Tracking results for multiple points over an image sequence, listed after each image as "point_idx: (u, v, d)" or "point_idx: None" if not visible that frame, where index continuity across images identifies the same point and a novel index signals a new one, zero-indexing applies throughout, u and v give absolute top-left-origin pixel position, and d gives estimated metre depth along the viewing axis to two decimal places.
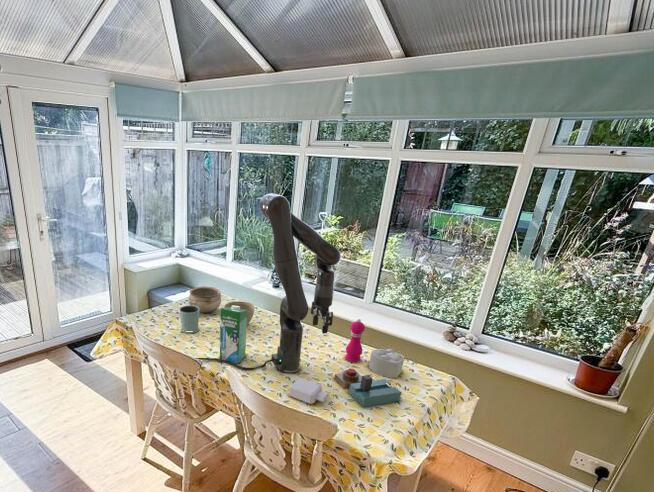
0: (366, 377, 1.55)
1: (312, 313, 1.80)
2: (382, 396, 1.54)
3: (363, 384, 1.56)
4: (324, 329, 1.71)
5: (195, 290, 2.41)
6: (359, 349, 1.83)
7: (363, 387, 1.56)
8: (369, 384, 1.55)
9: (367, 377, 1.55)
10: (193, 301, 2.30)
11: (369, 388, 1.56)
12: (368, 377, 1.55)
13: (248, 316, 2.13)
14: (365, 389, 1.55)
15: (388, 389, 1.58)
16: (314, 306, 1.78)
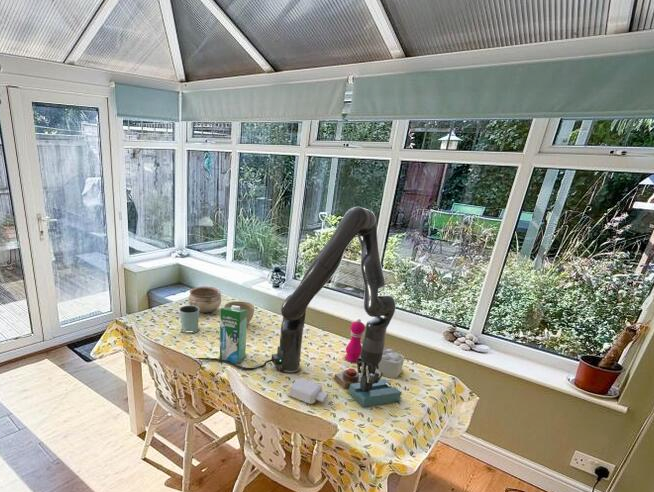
0: (366, 377, 1.55)
1: (360, 371, 1.58)
2: (382, 396, 1.54)
3: (363, 384, 1.56)
4: (368, 386, 1.54)
5: (195, 290, 2.41)
6: (359, 349, 1.83)
7: (363, 387, 1.56)
8: None
9: None
10: (193, 301, 2.30)
11: None
12: None
13: (248, 316, 2.13)
14: None
15: (388, 389, 1.58)
16: (360, 363, 1.58)
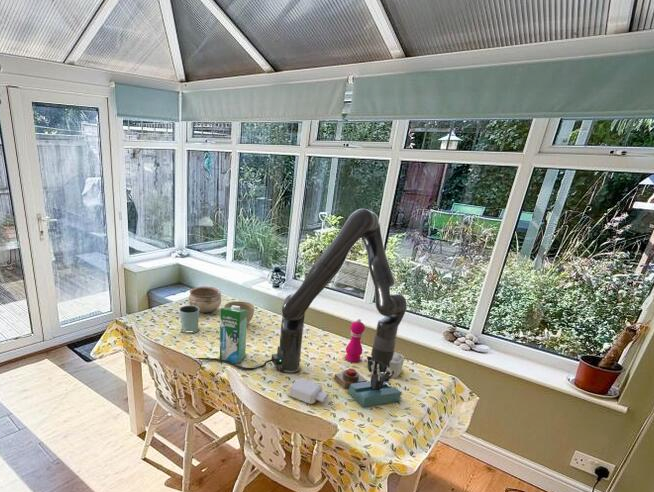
0: (377, 375, 1.56)
1: (370, 370, 1.59)
2: (382, 396, 1.54)
3: (374, 382, 1.57)
4: (379, 385, 1.55)
5: (195, 290, 2.41)
6: (359, 349, 1.83)
7: (374, 385, 1.57)
8: None
9: None
10: (193, 301, 2.30)
11: None
12: None
13: (248, 316, 2.13)
14: None
15: (388, 389, 1.58)
16: (371, 361, 1.59)
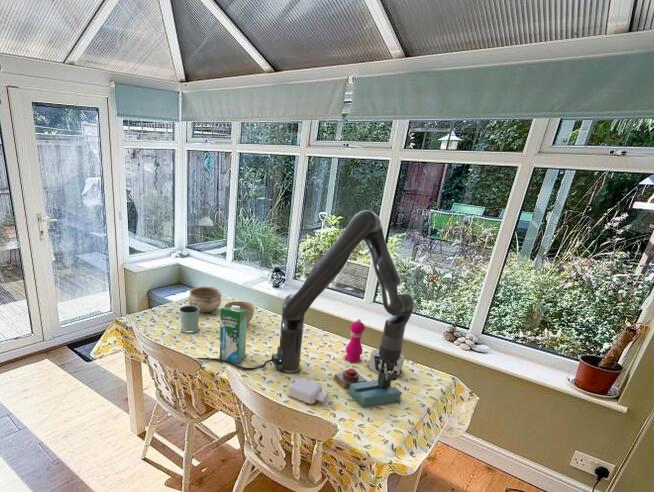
0: (384, 374, 1.57)
1: (378, 369, 1.60)
2: (382, 396, 1.54)
3: (381, 381, 1.58)
4: (386, 383, 1.56)
5: (195, 290, 2.41)
6: (359, 349, 1.83)
7: (381, 384, 1.58)
8: None
9: None
10: (193, 301, 2.30)
11: None
12: None
13: (248, 316, 2.13)
14: None
15: (388, 389, 1.58)
16: (378, 360, 1.60)
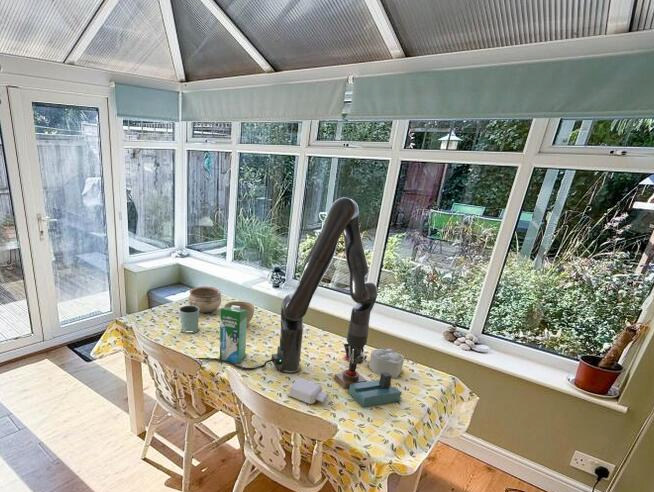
0: (385, 374, 1.57)
1: None
2: (382, 396, 1.54)
3: (382, 381, 1.58)
4: (352, 367, 1.66)
5: (195, 290, 2.41)
6: None
7: (382, 384, 1.58)
8: (388, 381, 1.57)
9: (386, 374, 1.57)
10: (193, 301, 2.30)
11: (388, 385, 1.58)
12: (387, 374, 1.57)
13: (248, 316, 2.13)
14: (384, 386, 1.58)
15: (388, 389, 1.58)
16: (348, 348, 1.69)
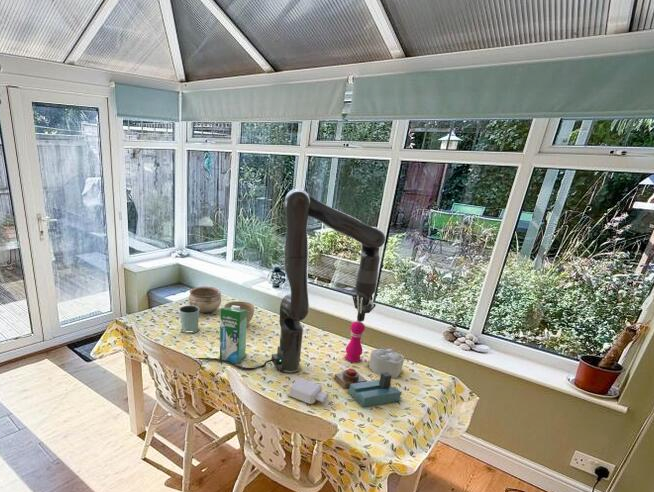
0: (385, 374, 1.57)
1: (357, 306, 1.65)
2: (382, 396, 1.54)
3: (382, 381, 1.58)
4: (361, 317, 1.64)
5: (195, 290, 2.41)
6: (359, 349, 1.83)
7: (382, 384, 1.58)
8: (388, 381, 1.57)
9: (386, 374, 1.57)
10: (193, 301, 2.30)
11: (388, 385, 1.58)
12: (387, 374, 1.57)
13: (248, 316, 2.13)
14: (384, 386, 1.58)
15: (388, 389, 1.58)
16: (356, 298, 1.66)
